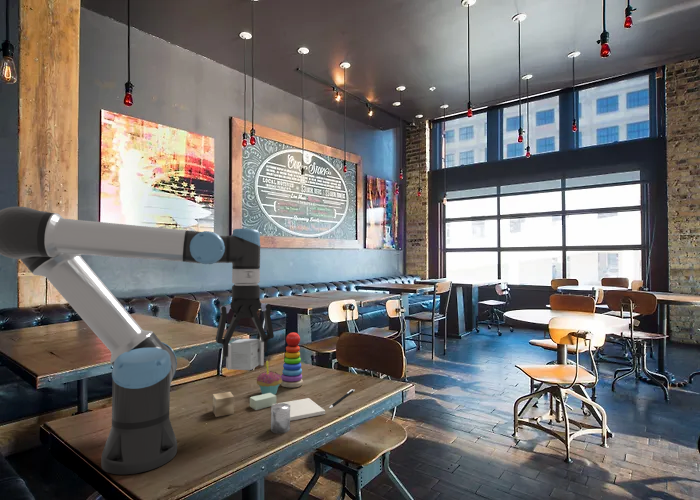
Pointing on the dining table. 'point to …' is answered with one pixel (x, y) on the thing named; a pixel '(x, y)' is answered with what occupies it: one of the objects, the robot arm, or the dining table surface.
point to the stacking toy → (292, 363)
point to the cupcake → (269, 381)
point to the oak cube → (223, 404)
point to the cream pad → (304, 409)
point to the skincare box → (244, 354)
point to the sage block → (262, 401)
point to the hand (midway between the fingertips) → (245, 366)
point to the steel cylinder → (280, 418)
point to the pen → (342, 398)
